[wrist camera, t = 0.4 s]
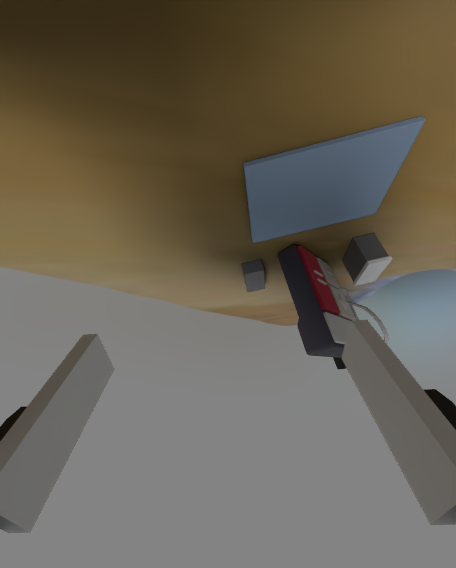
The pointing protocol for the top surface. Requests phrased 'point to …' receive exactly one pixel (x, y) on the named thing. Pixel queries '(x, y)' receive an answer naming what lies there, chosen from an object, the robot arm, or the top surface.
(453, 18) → the top surface
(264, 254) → the top surface
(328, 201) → the rubber mat
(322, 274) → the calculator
